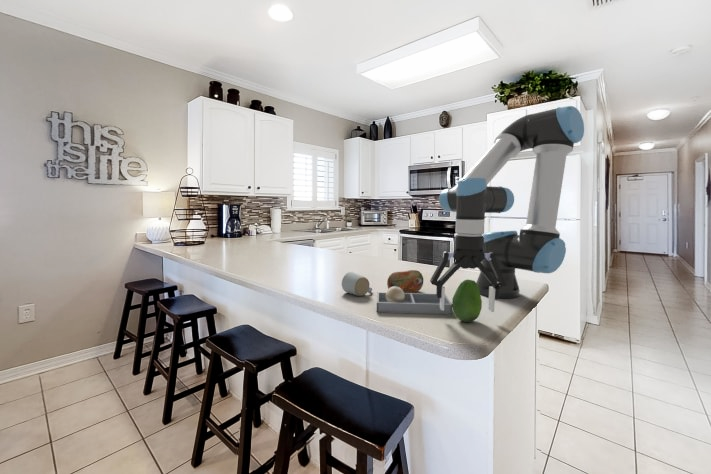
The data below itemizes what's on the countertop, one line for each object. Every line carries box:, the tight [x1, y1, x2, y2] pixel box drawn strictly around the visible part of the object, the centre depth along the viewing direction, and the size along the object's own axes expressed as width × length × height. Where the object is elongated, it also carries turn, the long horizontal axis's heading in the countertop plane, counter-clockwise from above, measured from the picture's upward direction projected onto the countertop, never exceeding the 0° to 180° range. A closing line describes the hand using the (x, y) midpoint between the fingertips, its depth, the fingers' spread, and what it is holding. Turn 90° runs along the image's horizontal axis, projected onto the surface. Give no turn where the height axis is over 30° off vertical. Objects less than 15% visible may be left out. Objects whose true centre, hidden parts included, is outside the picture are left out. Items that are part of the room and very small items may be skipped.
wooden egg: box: [385, 286, 405, 303], centre depth 105 cm, size 6×6×6 cm
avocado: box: [451, 279, 483, 323], centre depth 92 cm, size 8×8×12 cm
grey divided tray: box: [376, 291, 453, 315], centre depth 105 cm, size 23×12×3 cm, turn 86°
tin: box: [386, 269, 424, 293], centre depth 121 cm, size 15×3×8 cm, turn 117°
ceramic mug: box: [341, 271, 373, 297], centre depth 120 cm, size 11×8×8 cm
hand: (466, 309), depth 92 cm, fingers open, 13 cm apart
